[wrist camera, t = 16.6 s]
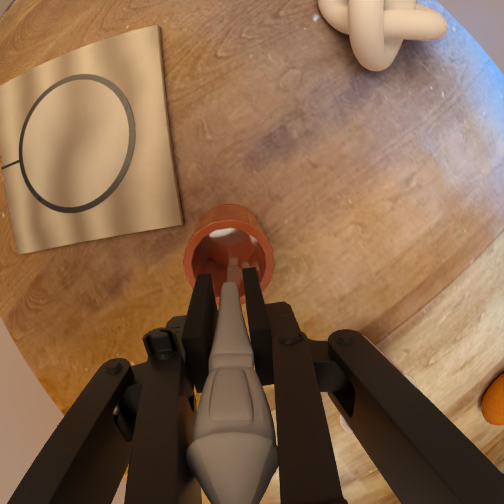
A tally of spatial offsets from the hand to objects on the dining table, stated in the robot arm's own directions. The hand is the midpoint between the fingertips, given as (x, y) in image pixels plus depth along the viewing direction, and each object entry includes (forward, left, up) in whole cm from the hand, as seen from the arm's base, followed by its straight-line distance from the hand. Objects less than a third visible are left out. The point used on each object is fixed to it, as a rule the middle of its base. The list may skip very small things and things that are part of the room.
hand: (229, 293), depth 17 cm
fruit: (+47, -37, -13) cm, 61 cm away
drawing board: (-14, +12, -13) cm, 22 cm away
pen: (0, 0, -1) cm, 1 cm away
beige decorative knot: (+16, +20, -13) cm, 29 cm away
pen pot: (0, 0, -13) cm, 13 cm away
